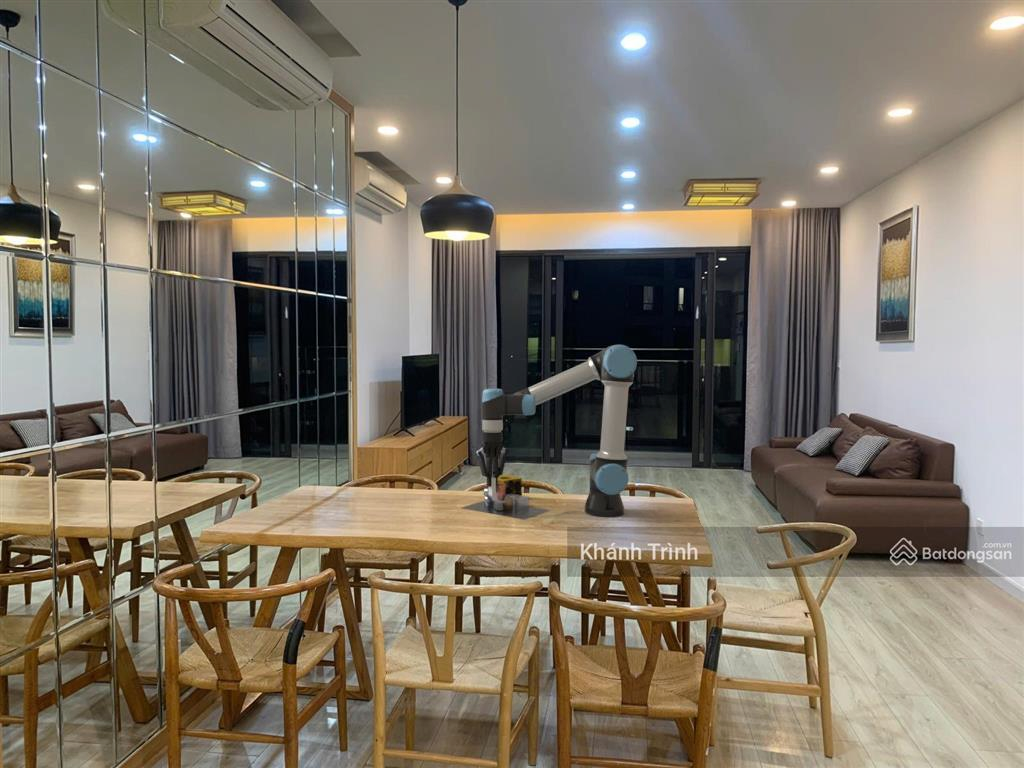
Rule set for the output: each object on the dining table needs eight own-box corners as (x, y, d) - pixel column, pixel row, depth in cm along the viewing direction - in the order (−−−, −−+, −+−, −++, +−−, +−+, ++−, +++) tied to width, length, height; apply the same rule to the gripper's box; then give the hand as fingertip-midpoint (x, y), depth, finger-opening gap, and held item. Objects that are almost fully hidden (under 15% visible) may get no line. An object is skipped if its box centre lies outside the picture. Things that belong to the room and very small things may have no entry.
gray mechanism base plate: (550, 514, 254) (551, 499, 254) (524, 523, 239) (524, 508, 239) (488, 503, 271) (488, 489, 271) (460, 511, 257) (460, 497, 256)
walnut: (515, 508, 256) (515, 498, 256) (508, 510, 253) (508, 500, 253) (505, 506, 259) (505, 496, 259) (499, 509, 255) (499, 498, 255)
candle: (508, 497, 283) (508, 474, 283) (522, 501, 275) (523, 477, 275) (488, 500, 277) (488, 476, 277) (503, 505, 269) (503, 480, 269)
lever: (482, 504, 261) (482, 475, 260) (493, 503, 263) (493, 475, 262) (497, 515, 244) (497, 484, 243) (508, 514, 245) (509, 483, 245)
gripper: (502, 429, 250) (502, 491, 251) (471, 430, 243) (471, 494, 244) (512, 431, 243) (512, 495, 244) (481, 433, 236) (481, 498, 238)
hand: (492, 494), depth 244 cm, fingers closed
